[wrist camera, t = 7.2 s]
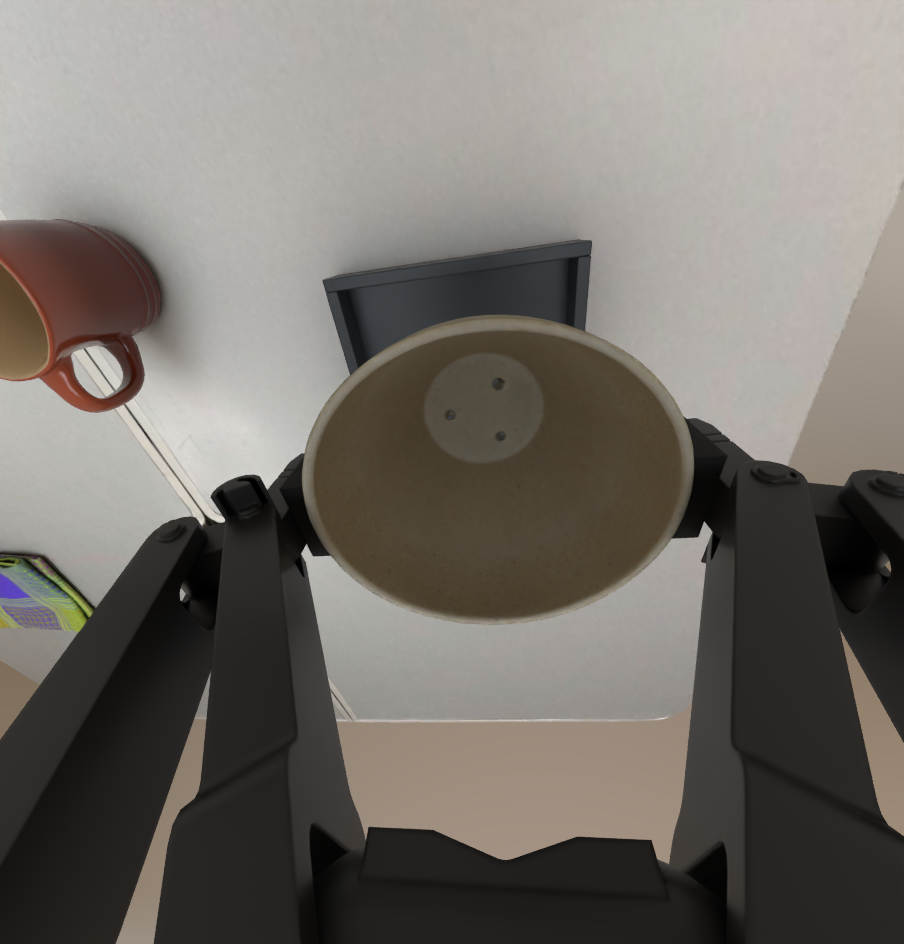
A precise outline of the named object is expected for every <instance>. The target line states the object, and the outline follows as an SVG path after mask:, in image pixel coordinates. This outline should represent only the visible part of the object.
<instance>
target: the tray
mask: <svg viewBox="0 0 904 944" xmlns="http://www.w3.org/2000/svg"><path fill="white" fill-rule="evenodd" d="M591 247H592V241H591V240H580V239H579V240H572V241H566V242H559V243H552V244H545V245H538V246H532V247H525V248H518V249H511V250H505V251H498V252H491V253H484V254H478V255H471V256H464V257H457V258H450V259H444V260H437V261H430V262H423V263H417V264H410V265H403V266H396V267H390V268H383V269H376V270H369V271H363V272H356V273H349V274H342V275H337V276H333V277H330V278H327V279H324V280H323V284H324V287H325V291H326V292H327V293H326V295H327V298H328V302H329V305H330V308H331V312H332V315H333V318H334V322H335V325H336V329H337V332H338V335H339V339H340V342H341V345H342V349H343V352H344V355H345V359H346V362H347V366H348V369H349V372H350V375H351V374H353V373H354V372H355V371H356V370H357V369H358V368H359V367H361V366H362V365H363V364H364V363H366V362H367V361H368V360H370V359H371V358H372V357H374V356H375V355H377V354H378V353H380V352H381V351H383V350H384V349H386V348H387V347H389V346H391V345H392V344H394V343H396V342H398V341H400V340H402V339H404V338H406V337H407V336H410V335H412V334H414V333H416V332H418V331H420V330H423V329H426V328H428V327H431V326H433V325H436V324H440V323H444V322H447V321H451V320H455V319H460V318H466V317H472V316H481V315H517V316H527V317H534V318H539V319H545V320H550V321H554V322H558V323H562V324H565V325H568V326H571V327H574V328H577V329H579V330H582V331H585V324H586V311H587V299H588V286H589V273H590V261H591V256H590V255H591ZM497 383H498V379H496V380H495V381H494V383H493V386H494V385H496V384H497ZM447 418H448V419H452V418H454V416H451V415H450V416H448V417H447ZM500 434H501V435H502V436H505V433H504V432H500Z"/></svg>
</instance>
